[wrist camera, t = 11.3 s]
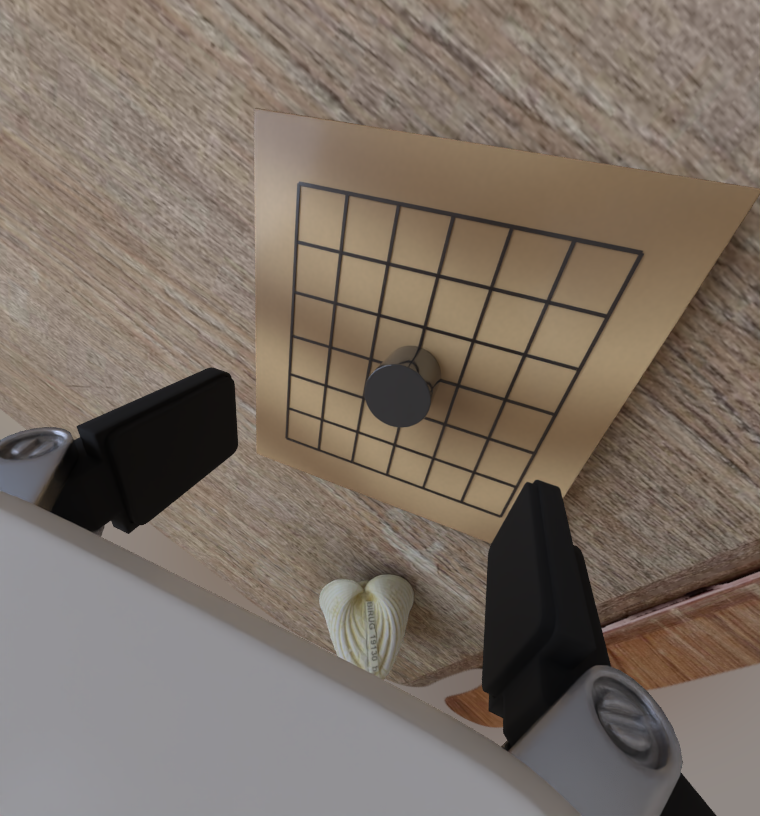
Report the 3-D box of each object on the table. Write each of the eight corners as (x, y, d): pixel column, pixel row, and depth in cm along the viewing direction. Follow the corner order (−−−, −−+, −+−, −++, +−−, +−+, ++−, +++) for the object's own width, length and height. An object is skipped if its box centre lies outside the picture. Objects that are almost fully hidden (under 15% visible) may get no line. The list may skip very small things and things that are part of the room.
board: (272, 118, 16) (252, 106, 15) (736, 194, 12) (766, 188, 11) (267, 443, 26) (255, 454, 24) (523, 539, 22) (525, 558, 21)
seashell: (421, 584, 24) (428, 702, 23) (405, 547, 32) (410, 632, 32) (310, 593, 23) (313, 713, 23) (323, 553, 32) (326, 640, 31)
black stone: (389, 338, 17) (370, 355, 14) (448, 354, 17) (439, 376, 14) (379, 391, 19) (359, 415, 16) (432, 407, 18) (421, 436, 15)
